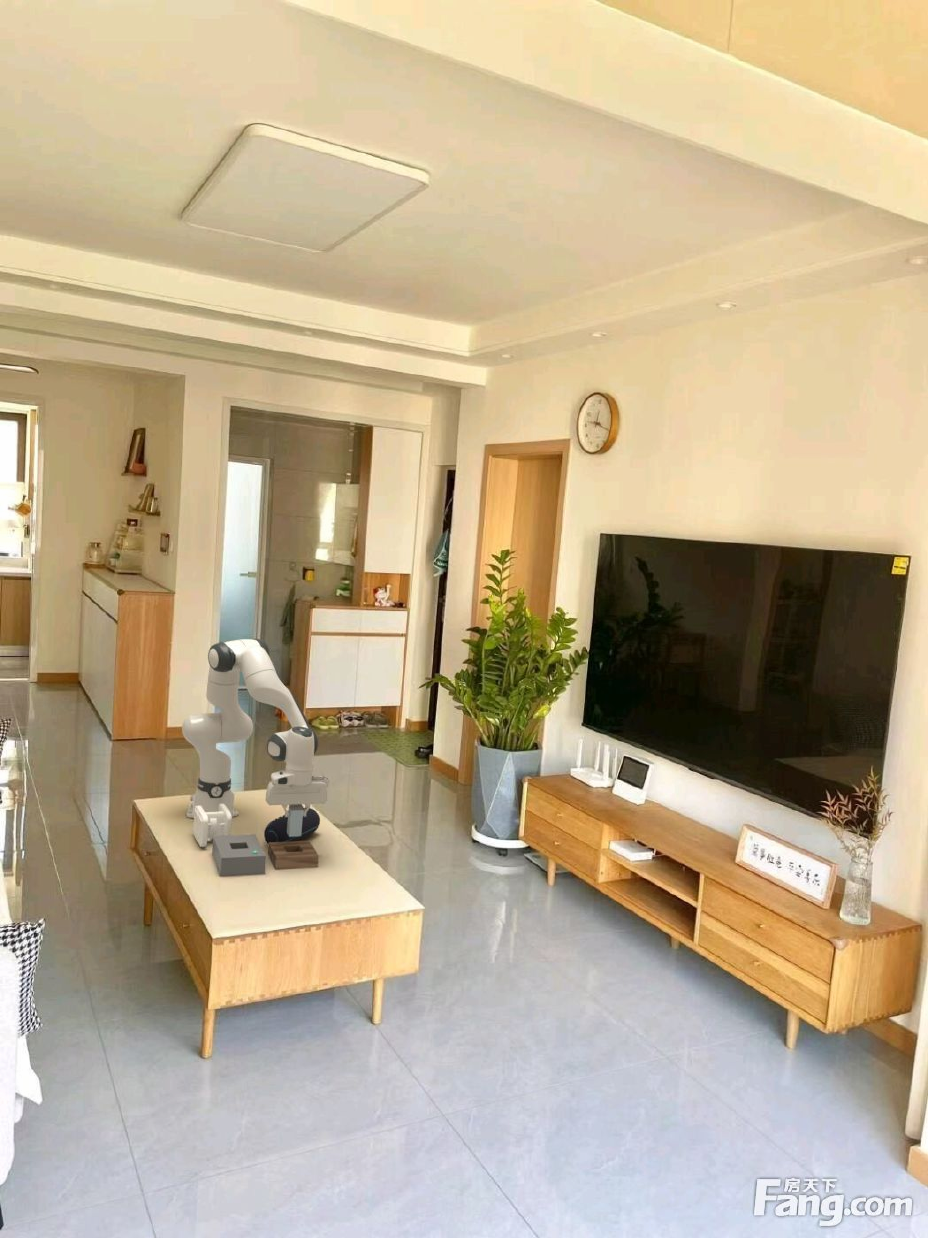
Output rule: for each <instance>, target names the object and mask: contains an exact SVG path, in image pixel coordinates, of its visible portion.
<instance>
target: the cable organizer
mask: <svg viewBox="0 0 928 1238" xmlns="http://www.w3.org/2000/svg"><path fill="white" fill-rule="evenodd" d="M232 819H233V817H232V816H231V813H230V811H229V810H228V809H227V807H226V806H225V804H219V810H218V812H205V811H204V810H203V808H202V807H201V806H195V808H194V818H193V829H192V830H193V831H192V833H193V836H194V838H195V840H196V842H197V844H198V845H199V847H200V848H206V847H207V844H208V842H211V840H213V836H228V835H231V832H232V821H233V820H232Z"/></svg>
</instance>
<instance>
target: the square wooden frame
mask: <svg viewBox="0 0 928 1238" xmlns="http://www.w3.org/2000/svg"><path fill="white" fill-rule="evenodd" d="M267 855H268V857H269V859H270V861H271V863H272V865H273V867H274V869H275V870H289V869H305V868H306V869H307V868H308V869H309V868H319V854H318V852H317V850H316V848H314V846H313V844H312V843H311V840H298V841H290V842H269V843H268V844H267Z"/></svg>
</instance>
